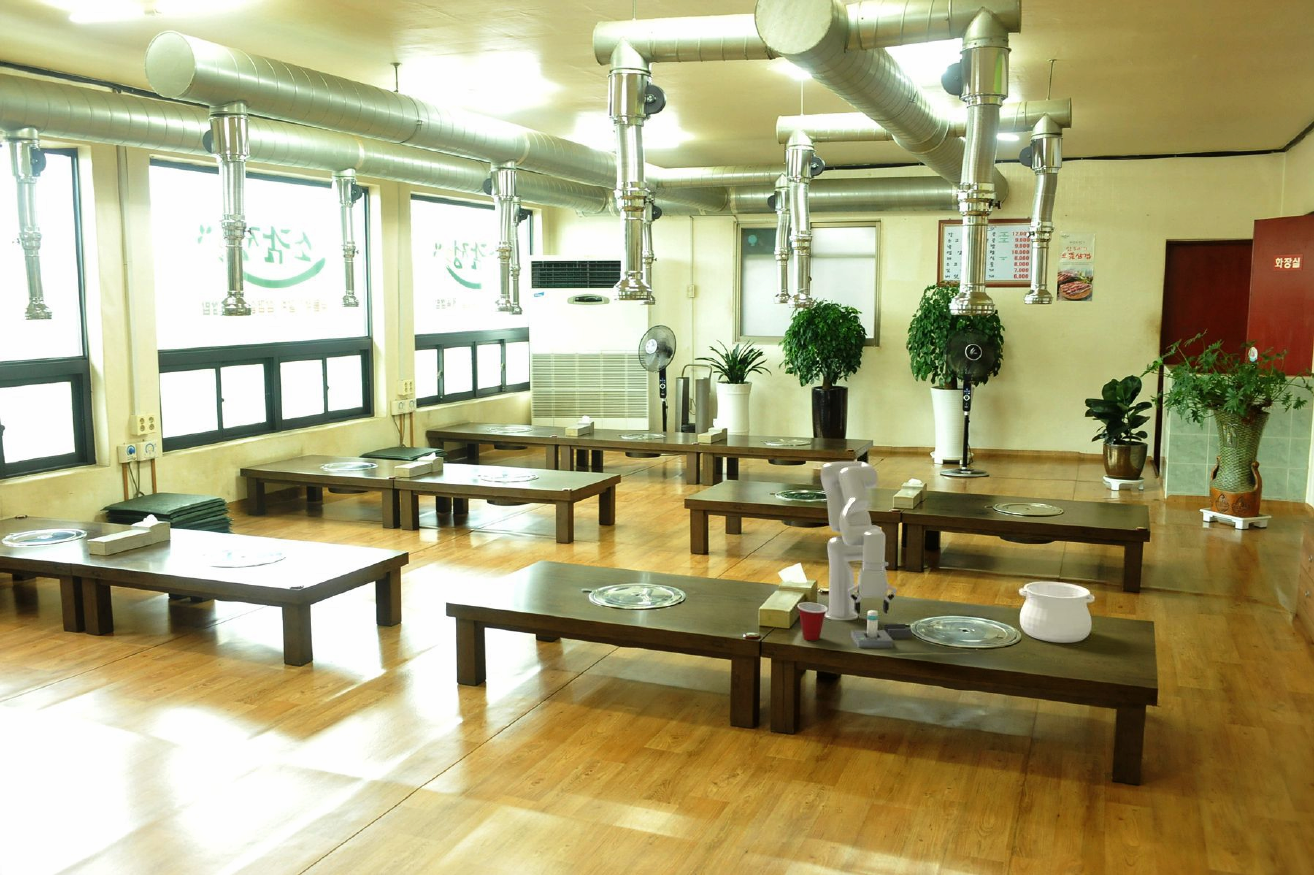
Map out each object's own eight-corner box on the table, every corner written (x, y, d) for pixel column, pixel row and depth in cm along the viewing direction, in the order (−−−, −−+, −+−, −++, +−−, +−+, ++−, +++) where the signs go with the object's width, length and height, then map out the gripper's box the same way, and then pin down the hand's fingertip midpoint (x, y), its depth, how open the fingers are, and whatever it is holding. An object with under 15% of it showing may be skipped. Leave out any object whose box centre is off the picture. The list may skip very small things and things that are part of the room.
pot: (1013, 639, 375) (1015, 593, 373) (1021, 621, 397) (1023, 578, 395) (1091, 649, 364) (1093, 601, 362) (1094, 629, 386) (1096, 585, 384)
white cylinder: (865, 640, 372) (866, 610, 371) (875, 640, 372) (876, 610, 371) (867, 643, 368) (868, 613, 367) (878, 643, 368) (879, 613, 367)
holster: (882, 633, 382) (883, 623, 382) (904, 632, 383) (904, 623, 382) (888, 640, 375) (888, 630, 374) (910, 639, 375) (910, 630, 374)
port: (851, 638, 376) (851, 629, 376) (884, 638, 376) (884, 629, 376) (858, 649, 364) (858, 640, 364) (892, 648, 365) (893, 639, 364)
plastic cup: (822, 644, 369) (822, 611, 368) (793, 640, 374) (793, 608, 373) (830, 636, 379) (831, 603, 378) (802, 632, 384) (802, 600, 382)
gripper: (895, 562, 371) (893, 608, 374) (846, 562, 371) (845, 609, 373) (900, 568, 364) (898, 615, 367) (851, 568, 363) (849, 616, 366)
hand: (871, 612), depth 370 cm, fingers open, 9 cm apart
